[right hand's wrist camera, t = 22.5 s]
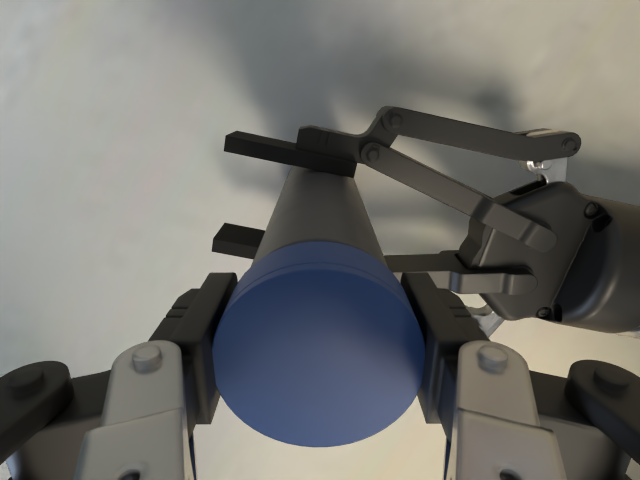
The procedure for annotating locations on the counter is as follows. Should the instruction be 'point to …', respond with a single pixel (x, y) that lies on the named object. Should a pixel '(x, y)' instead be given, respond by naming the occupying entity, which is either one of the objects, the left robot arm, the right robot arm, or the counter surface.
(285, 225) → the grey cylinder
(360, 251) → the lid
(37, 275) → the counter surface
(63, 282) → the counter surface
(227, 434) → the counter surface
